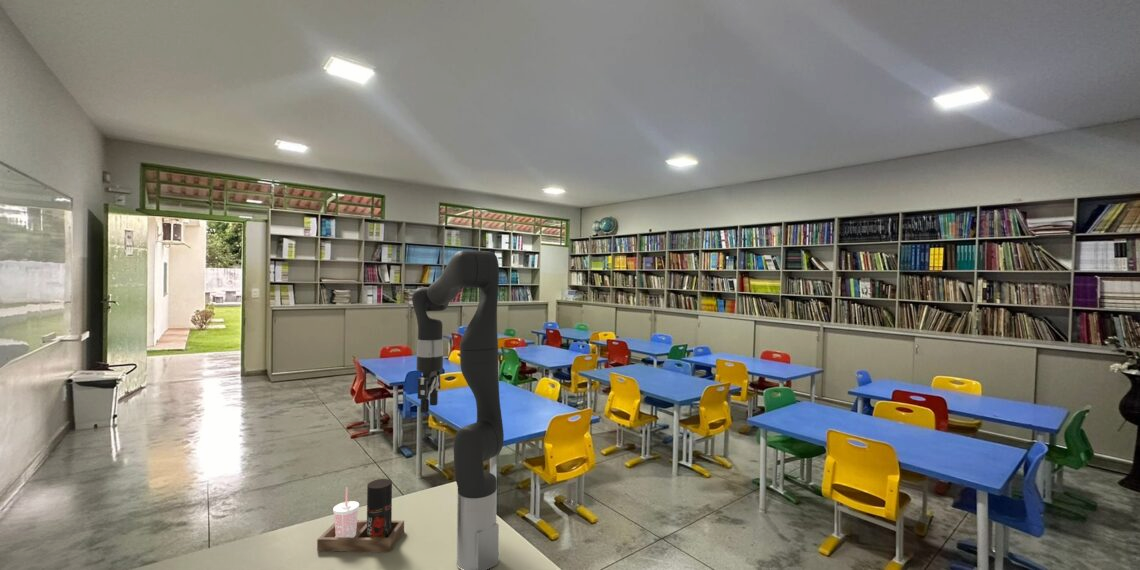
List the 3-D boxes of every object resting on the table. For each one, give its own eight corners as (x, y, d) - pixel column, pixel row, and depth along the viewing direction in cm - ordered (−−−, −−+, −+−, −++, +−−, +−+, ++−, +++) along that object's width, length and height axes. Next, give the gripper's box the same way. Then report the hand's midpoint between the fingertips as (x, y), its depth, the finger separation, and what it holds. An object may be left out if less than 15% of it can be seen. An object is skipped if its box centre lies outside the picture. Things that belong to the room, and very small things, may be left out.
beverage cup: (362, 534, 121) (362, 481, 121) (353, 547, 115) (354, 491, 115) (338, 535, 120) (338, 482, 120) (328, 548, 114) (329, 492, 114)
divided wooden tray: (404, 531, 122) (404, 520, 122) (389, 552, 112) (389, 539, 112) (337, 531, 122) (337, 520, 122) (317, 551, 112) (317, 539, 113)
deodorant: (395, 536, 119) (396, 479, 120) (382, 549, 114) (383, 489, 114) (375, 534, 121) (376, 478, 121) (361, 546, 115) (362, 487, 115)
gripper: (435, 357, 128) (434, 415, 128) (448, 351, 142) (448, 403, 142) (409, 357, 128) (408, 415, 128) (425, 351, 142) (424, 402, 142)
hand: (429, 408), depth 135 cm, fingers open, 8 cm apart
